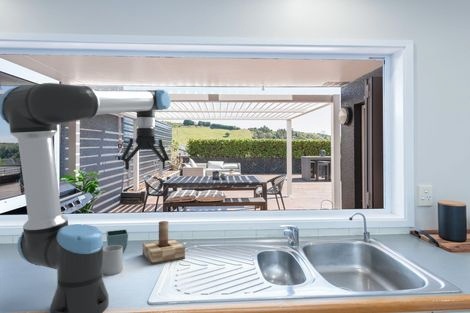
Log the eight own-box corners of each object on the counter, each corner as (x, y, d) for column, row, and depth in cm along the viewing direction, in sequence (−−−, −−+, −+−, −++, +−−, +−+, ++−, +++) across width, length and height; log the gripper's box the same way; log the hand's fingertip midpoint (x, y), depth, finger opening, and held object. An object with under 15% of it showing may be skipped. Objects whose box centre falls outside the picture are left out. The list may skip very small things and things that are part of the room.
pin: (169, 254, 133) (169, 222, 132) (160, 256, 131) (160, 223, 130) (166, 252, 136) (166, 220, 136) (157, 253, 134) (157, 221, 134)
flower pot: (106, 250, 141) (106, 231, 141) (126, 248, 145) (126, 229, 144) (106, 256, 133) (106, 236, 133) (128, 254, 137) (128, 233, 136)
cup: (97, 274, 114) (97, 250, 114) (113, 264, 124) (113, 242, 124) (115, 276, 113) (115, 251, 113) (129, 266, 123) (129, 243, 122)
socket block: (184, 258, 131) (184, 247, 131) (152, 264, 124) (152, 252, 124) (173, 249, 143) (173, 238, 143) (142, 254, 136) (142, 243, 136)
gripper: (170, 129, 143) (170, 175, 144) (113, 126, 130) (113, 177, 131) (176, 128, 137) (175, 176, 137) (116, 125, 124) (116, 178, 124)
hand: (145, 177), depth 134 cm, fingers open, 13 cm apart
